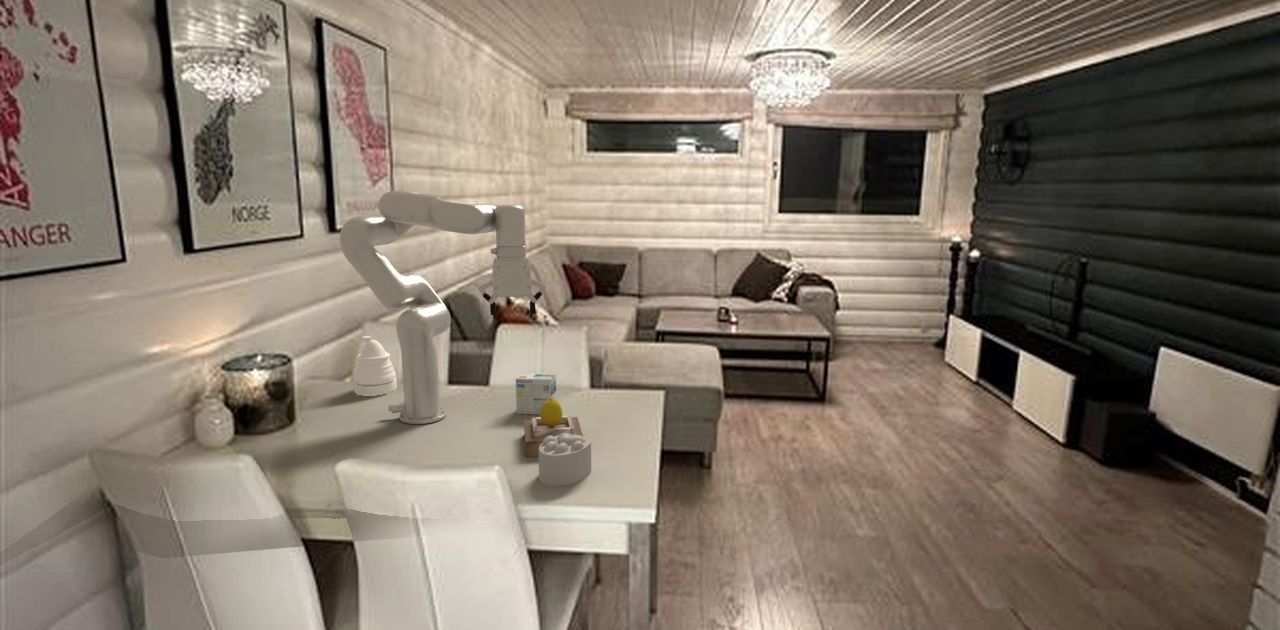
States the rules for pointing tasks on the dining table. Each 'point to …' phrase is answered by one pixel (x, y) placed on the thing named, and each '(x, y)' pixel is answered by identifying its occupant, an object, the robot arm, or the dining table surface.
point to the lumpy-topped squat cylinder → (564, 459)
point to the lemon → (551, 413)
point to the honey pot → (374, 369)
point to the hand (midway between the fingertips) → (513, 317)
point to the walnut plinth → (547, 432)
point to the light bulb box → (534, 391)
